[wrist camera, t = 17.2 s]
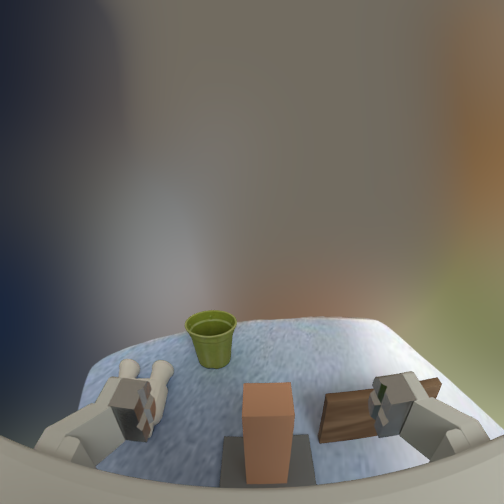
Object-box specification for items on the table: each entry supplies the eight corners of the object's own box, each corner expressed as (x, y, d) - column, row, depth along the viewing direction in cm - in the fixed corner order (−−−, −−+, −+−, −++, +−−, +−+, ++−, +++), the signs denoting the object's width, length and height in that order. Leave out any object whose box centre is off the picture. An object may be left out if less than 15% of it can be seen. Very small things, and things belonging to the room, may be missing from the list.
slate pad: (317, 504, 28) (318, 502, 28) (218, 507, 29) (217, 505, 28) (307, 437, 40) (308, 434, 40) (224, 439, 40) (224, 436, 40)
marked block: (286, 483, 32) (294, 415, 27) (246, 484, 32) (242, 416, 27) (284, 452, 37) (290, 380, 32) (247, 453, 37) (243, 381, 32)
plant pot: (210, 382, 53) (205, 342, 50) (181, 359, 59) (175, 321, 56) (248, 360, 59) (247, 322, 56) (217, 341, 65) (214, 305, 63)
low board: (423, 425, 38) (441, 384, 36) (319, 443, 39) (327, 402, 36) (420, 418, 40) (437, 377, 37) (318, 435, 40) (325, 393, 37)
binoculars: (175, 377, 54) (172, 357, 53) (162, 443, 39) (155, 423, 38) (123, 375, 54) (117, 355, 52) (98, 436, 39) (89, 416, 37)
